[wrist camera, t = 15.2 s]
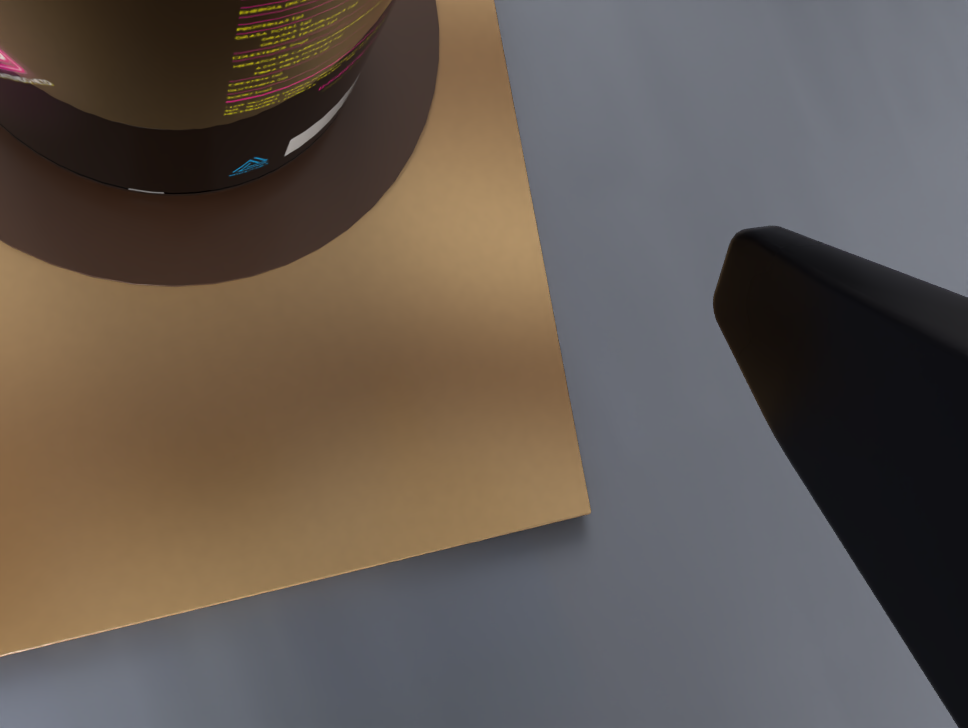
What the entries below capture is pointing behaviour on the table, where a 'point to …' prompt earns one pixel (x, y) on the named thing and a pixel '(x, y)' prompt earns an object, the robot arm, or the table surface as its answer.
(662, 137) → the table surface
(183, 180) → the supplement container
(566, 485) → the placemat
